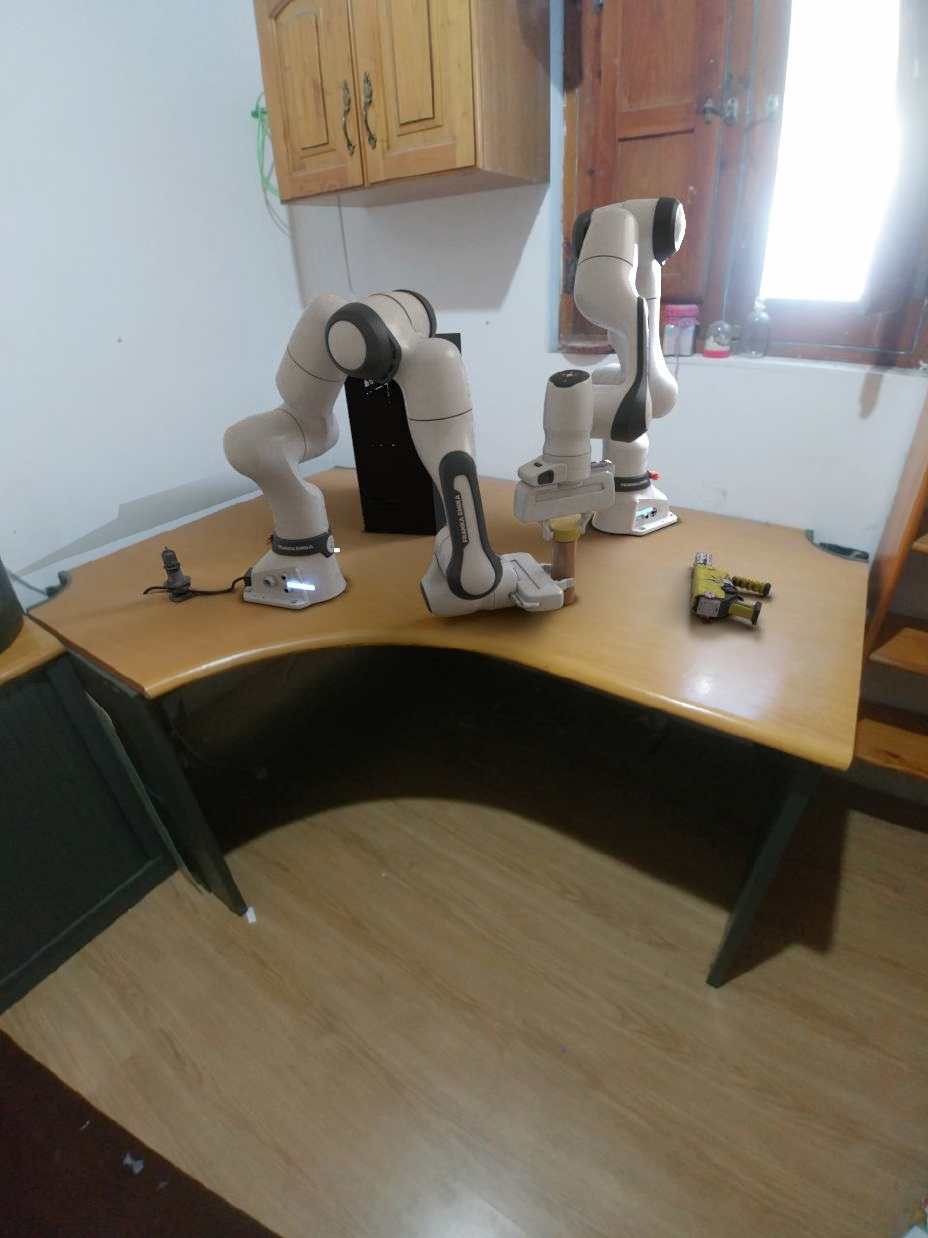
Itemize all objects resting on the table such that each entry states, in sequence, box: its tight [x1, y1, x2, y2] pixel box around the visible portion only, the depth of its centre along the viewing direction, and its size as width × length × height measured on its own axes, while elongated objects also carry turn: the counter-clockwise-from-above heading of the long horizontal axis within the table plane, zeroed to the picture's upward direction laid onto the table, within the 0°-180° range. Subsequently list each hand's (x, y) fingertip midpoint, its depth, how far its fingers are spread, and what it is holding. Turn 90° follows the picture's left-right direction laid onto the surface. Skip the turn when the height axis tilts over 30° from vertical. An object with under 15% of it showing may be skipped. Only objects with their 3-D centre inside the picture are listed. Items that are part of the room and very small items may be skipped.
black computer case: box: [343, 332, 463, 535], centre depth 166 cm, size 38×20×45 cm, turn 167°
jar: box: [550, 539, 578, 606], centre depth 121 cm, size 5×5×16 cm
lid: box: [548, 519, 580, 542], centre depth 118 cm, size 6×6×2 cm
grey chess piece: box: [160, 546, 195, 602], centre depth 132 cm, size 6×6×12 cm
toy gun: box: [690, 551, 772, 626], centre depth 121 cm, size 5×24×15 cm
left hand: (566, 574), depth 123 cm, fingers closed on jar, 5 cm apart
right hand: (563, 536), depth 118 cm, fingers closed on lid, 5 cm apart
